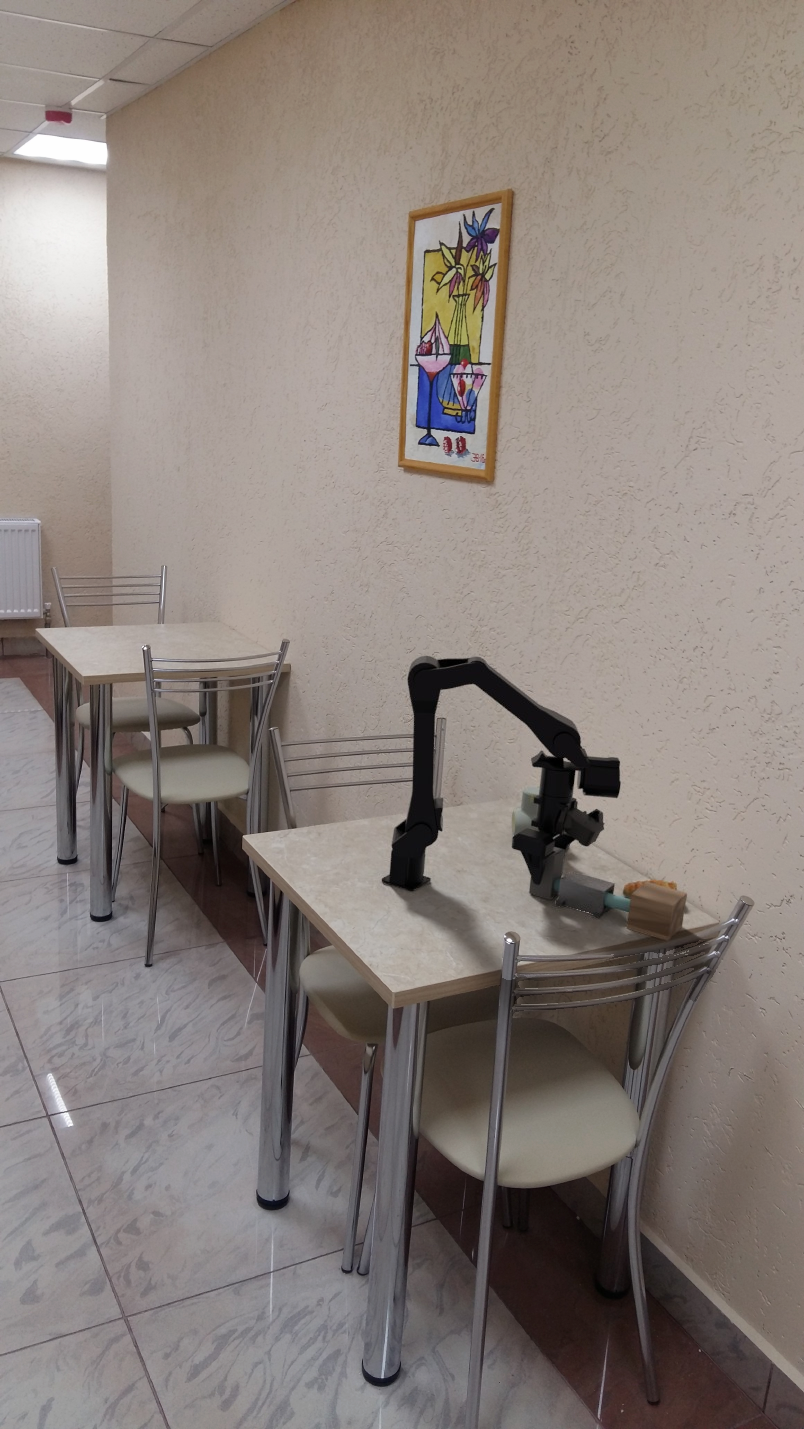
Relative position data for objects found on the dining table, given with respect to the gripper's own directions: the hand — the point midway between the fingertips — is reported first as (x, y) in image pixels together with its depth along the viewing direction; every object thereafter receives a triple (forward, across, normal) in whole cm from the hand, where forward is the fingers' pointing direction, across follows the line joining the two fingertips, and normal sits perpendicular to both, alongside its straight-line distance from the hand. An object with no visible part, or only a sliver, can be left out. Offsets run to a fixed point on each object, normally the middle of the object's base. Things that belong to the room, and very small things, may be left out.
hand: (546, 877), depth 192 cm
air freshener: (+3, +24, +14) cm, 28 cm away
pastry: (+4, +11, -16) cm, 20 cm away
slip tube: (+3, 0, -10) cm, 10 cm away
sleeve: (+3, 0, -8) cm, 8 cm away
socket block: (+3, 0, -20) cm, 20 cm away
